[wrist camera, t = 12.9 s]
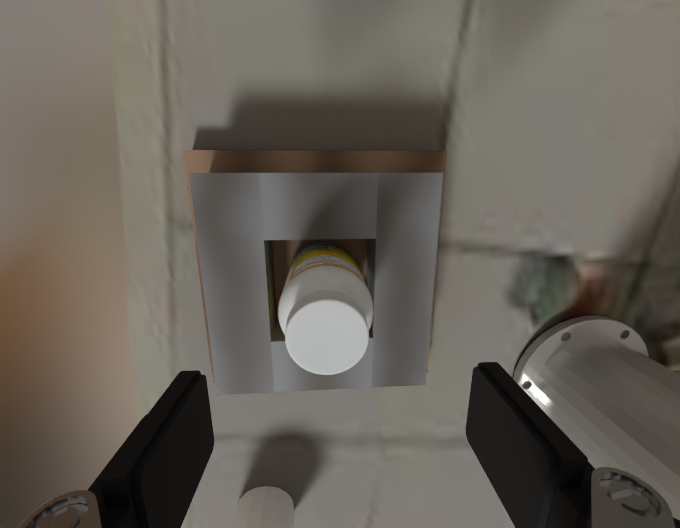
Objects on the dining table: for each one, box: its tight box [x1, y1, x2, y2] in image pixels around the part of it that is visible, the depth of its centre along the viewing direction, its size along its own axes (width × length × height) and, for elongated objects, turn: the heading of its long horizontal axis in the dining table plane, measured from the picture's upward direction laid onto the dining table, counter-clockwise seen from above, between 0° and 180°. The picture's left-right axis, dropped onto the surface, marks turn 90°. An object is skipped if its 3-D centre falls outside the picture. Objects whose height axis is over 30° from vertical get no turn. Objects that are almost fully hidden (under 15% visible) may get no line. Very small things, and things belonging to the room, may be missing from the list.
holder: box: [183, 150, 446, 395], centre depth 23 cm, size 18×18×5 cm
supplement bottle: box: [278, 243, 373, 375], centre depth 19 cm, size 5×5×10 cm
